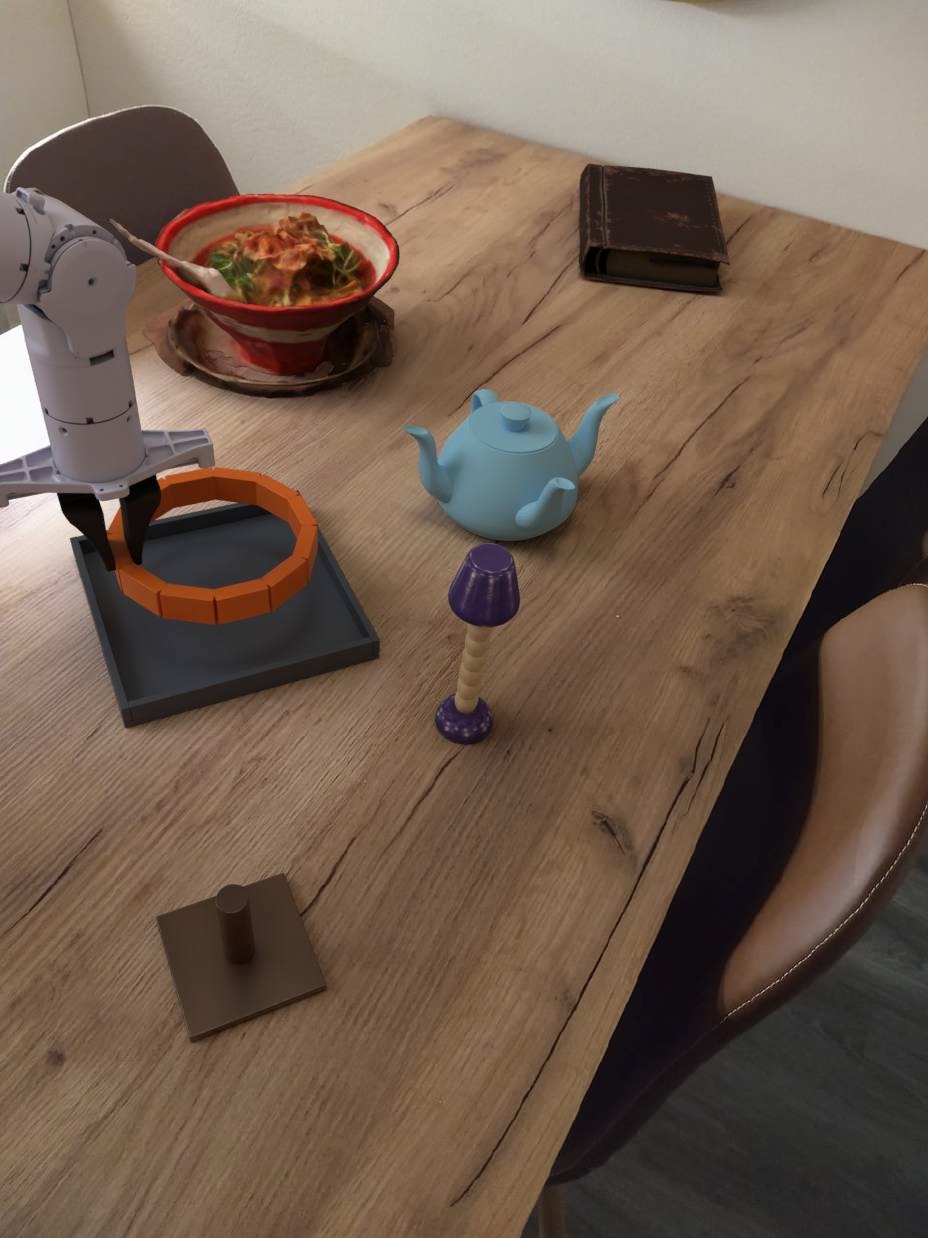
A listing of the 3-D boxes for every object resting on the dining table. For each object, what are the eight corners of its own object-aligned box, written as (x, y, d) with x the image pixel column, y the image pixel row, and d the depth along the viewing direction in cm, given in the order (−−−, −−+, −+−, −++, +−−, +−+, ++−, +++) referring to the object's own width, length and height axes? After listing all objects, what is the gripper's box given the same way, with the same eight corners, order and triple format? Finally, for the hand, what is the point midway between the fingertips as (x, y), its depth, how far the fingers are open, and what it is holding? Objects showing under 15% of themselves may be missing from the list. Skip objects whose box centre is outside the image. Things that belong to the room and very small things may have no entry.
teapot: (464, 439, 100) (473, 345, 93) (609, 487, 96) (630, 393, 89) (396, 523, 90) (400, 426, 83) (555, 580, 86) (574, 483, 79)
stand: (190, 1043, 57) (177, 990, 52) (156, 921, 62) (141, 863, 57) (326, 989, 60) (325, 935, 55) (284, 877, 65) (279, 818, 60)
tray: (125, 728, 72) (120, 710, 70) (74, 556, 84) (69, 537, 82) (379, 657, 79) (380, 639, 77) (299, 507, 90) (298, 489, 89)
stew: (130, 424, 97) (102, 263, 86) (134, 298, 113) (111, 150, 102) (421, 410, 103) (431, 258, 91) (384, 293, 119) (389, 151, 107)
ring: (139, 644, 70) (134, 620, 68) (95, 514, 79) (90, 489, 77) (343, 594, 75) (343, 570, 74) (280, 477, 84) (279, 453, 83)
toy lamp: (509, 720, 75) (541, 551, 64) (476, 761, 72) (502, 592, 61) (455, 690, 77) (476, 520, 65) (420, 730, 74) (435, 558, 62)
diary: (576, 280, 125) (583, 240, 122) (576, 196, 143) (582, 159, 139) (726, 298, 125) (738, 259, 122) (708, 212, 143) (718, 176, 140)
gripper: (-28, 456, 59) (24, 621, 69) (220, 413, 64) (235, 571, 74) (-42, 391, 63) (8, 555, 73) (191, 355, 69) (209, 512, 78)
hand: (121, 559), depth 74 cm, fingers closed on ring, 1 cm apart
